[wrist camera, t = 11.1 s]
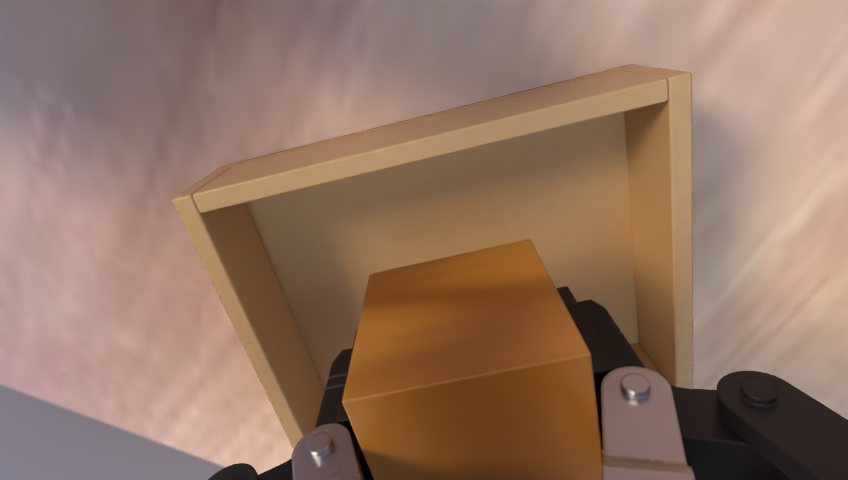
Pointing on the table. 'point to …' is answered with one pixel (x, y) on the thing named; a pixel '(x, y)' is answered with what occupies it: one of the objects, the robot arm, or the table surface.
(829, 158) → the table surface
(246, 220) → the sand bin
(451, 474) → the ochre block
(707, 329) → the table surface
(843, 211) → the table surface
